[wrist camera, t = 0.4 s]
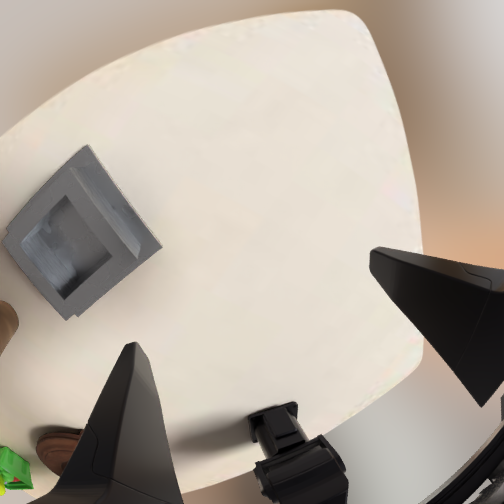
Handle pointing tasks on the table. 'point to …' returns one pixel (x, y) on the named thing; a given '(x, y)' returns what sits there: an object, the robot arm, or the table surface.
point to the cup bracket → (79, 236)
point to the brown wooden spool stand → (57, 450)
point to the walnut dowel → (7, 324)
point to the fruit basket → (13, 472)
